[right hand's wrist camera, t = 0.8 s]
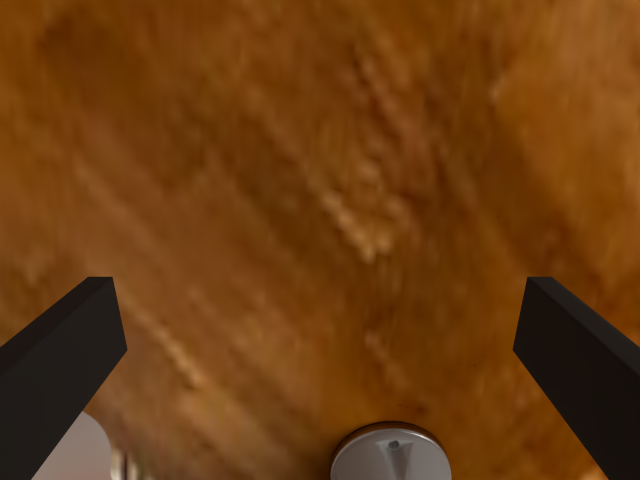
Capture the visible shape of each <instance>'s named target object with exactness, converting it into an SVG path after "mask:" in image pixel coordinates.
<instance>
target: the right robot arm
mask: <svg viewBox="0 0 640 480" xmlns="http://www.w3.org/2000/svg"><path fill="white" fill-rule="evenodd" d="M126 351H127V346H126V341H125V336H124V331H123V326H122V321H121V316H120V311H119V306H118V302H117V297H116V292H115V287H114V282H113V277H87V278H86V279H85V280H84V281H82V282H81V283H80V284H79V285H77V286H76V287H75V288H74V289H72V290H71V291H70V292H69V293H67V294H66V295H65V296H64V297H63V298H61V299H60V300H59V301H58V302H56V303H55V304H54V305H53V306H51V307H50V308H49V309H48V310H46V311H45V312H44V313H43V314H41V315H40V316H39V317H38V318H36V319H35V320H34V321H33V322H31V323H30V324H29V325H28V326H26V327H25V328H24V329H23V330H21V331H20V332H19V333H18V334H16V335H15V336H14V337H13V338H11V339H10V340H9V341H8V342H6V343H5V344H4V345H3V346H1V347H0V480H31V479H32V477H33V476H34V475H35V474H36V472H37V471H38V470H39V468H40V467H41V465H42V464H43V463H44V461H45V460H46V459H47V457H48V456H49V455H50V453H51V452H52V451H53V449H54V448H55V447H56V445H57V444H58V443H59V441H60V440H61V439H62V437H63V436H64V435H65V433H66V432H67V430H68V429H69V428H70V426H71V425H72V424H73V422H74V421H75V420H76V418H77V417H78V416H79V414H80V413H81V412H82V410H83V409H84V408H85V406H86V405H87V404H88V402H89V401H90V400H91V398H92V397H93V396H94V394H95V393H96V391H97V390H98V389H99V387H100V386H101V385H102V383H103V382H104V381H105V379H106V378H107V377H108V375H109V374H110V373H111V371H112V370H113V369H114V367H115V366H116V365H117V363H118V362H119V361H120V359H121V358H122V357H123V355H124V354H125V352H126ZM513 351H514V352H515V354H516V355H517V357H518V358H519V359H520V361H521V362H522V363H523V365H524V366H525V367H526V369H527V370H528V371H529V373H530V374H531V375H532V377H533V378H534V379H535V381H536V382H537V383H538V385H539V386H540V387H541V389H542V390H543V391H544V393H545V394H546V396H547V397H548V398H549V400H550V401H551V402H552V404H553V405H554V406H555V408H556V409H557V410H558V412H559V413H560V414H561V416H562V417H563V418H564V420H565V421H566V422H567V424H568V425H569V426H570V428H571V429H572V430H573V432H574V433H575V435H576V436H577V437H578V439H579V440H580V441H581V443H582V444H583V445H584V447H585V448H586V449H587V451H588V452H589V453H590V455H591V456H592V457H593V459H594V460H595V461H596V463H597V464H598V465H599V467H600V468H601V470H602V471H603V472H604V474H605V475H606V476H607V478H608V479H609V480H640V347H639V346H637V345H636V344H635V343H634V342H632V341H631V340H630V339H629V338H627V337H626V336H625V335H624V334H622V333H621V332H620V331H619V330H617V329H616V328H615V327H614V326H612V325H611V324H610V323H609V322H607V321H606V320H605V319H604V318H602V317H601V316H600V315H599V314H597V313H596V312H595V311H594V310H592V309H591V308H590V307H589V306H587V305H586V304H585V303H584V302H582V301H581V300H580V299H579V298H577V297H576V296H575V295H574V294H573V293H571V292H570V291H569V290H568V289H566V288H565V287H564V286H563V285H561V284H560V283H559V282H558V281H556V280H555V279H554V278H553V277H527V282H526V287H525V292H524V297H523V302H522V306H521V311H520V316H519V321H518V326H517V331H516V336H515V341H514V346H513Z"/></svg>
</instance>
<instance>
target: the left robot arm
mask: <svg viewBox="0 0 640 480" xmlns="http://www.w3.org/2000/svg"><path fill="white" fill-rule="evenodd" d="M330 470H331V480H451V470H450V464H449V461H448V458H447V455H446V453H445V450H444V448H443V446H442V444H441V443H440V442H439V441H438V439H437V438H436V437H434V436H433V435H432V434H431V433H429V432H428V431H426V430H424V429H422V428H420V427H417V426H414V425H411V424H406V423H399V422H386V423H378V424H374V425H370V426H367V427H364V428H362V429H359V430H357V431H356V432H354V433H352V434H351V435H349V436H348V437H347V438H346V439H344V440H343V441H342V442H341V443H340V445H339V446H338V447H337V449H336V450H335V452H334V454H333V457H332V460H331V468H330Z"/></svg>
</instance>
